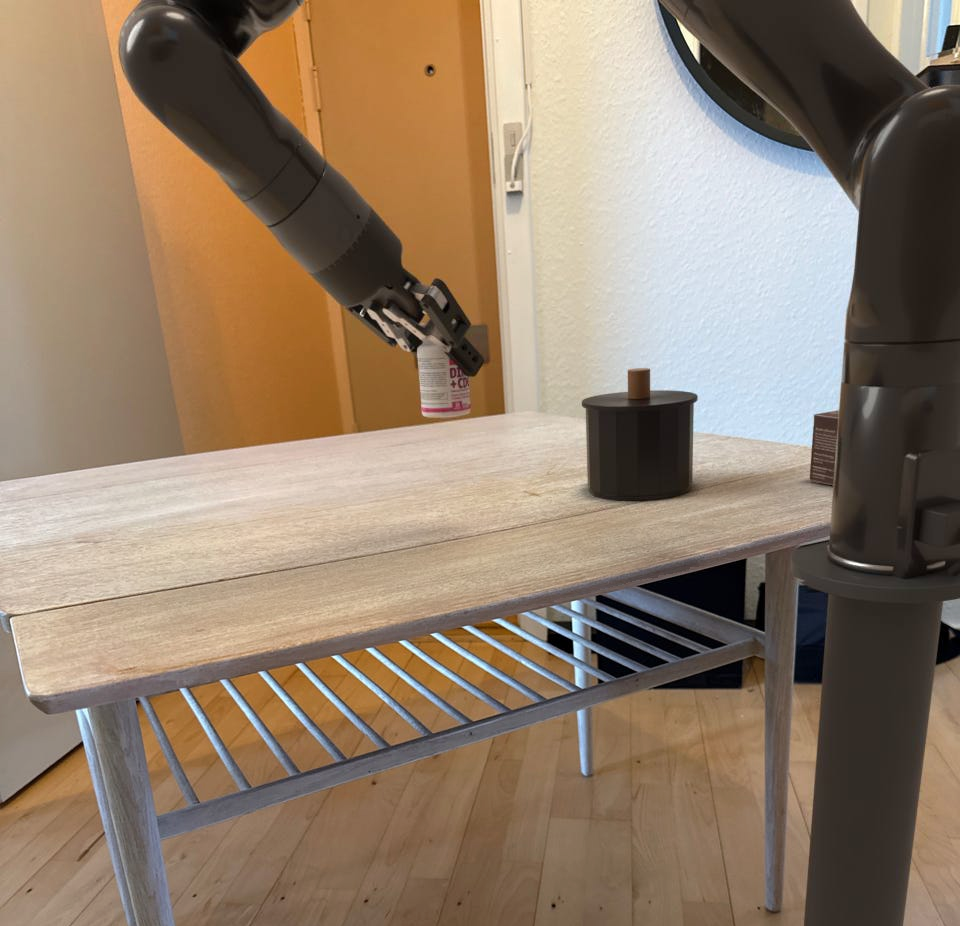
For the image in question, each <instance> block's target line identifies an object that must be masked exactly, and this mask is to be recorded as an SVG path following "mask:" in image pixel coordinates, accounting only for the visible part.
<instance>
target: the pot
mask: <svg viewBox="0 0 960 926" xmlns="http://www.w3.org/2000/svg"><path fill="white" fill-rule="evenodd" d="M694 405H695V403H692V404H689V405H685V406H680V407H674V408H667V409H658V410H644V411H599V410H591V409H586V408H585V434H586V437H585V439H586V440H585V441H586V473H587V477H586V478H587V487H588V493H589V494H590V495H591V496H594V497H595V498H601V499H605V500H612V501H623V502H627V501H629V502H632V501H634V502H637V501H642V502H643V501H654V500H662V499H670V498H674V497H678V496H681V495H684V494H686V493H689V492H690V491H691V489H692V485H693V476H694V475H693V473H694V470H693V469H694V415H695V414H694V413H695V412H694V409H695V408H694Z"/></svg>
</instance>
